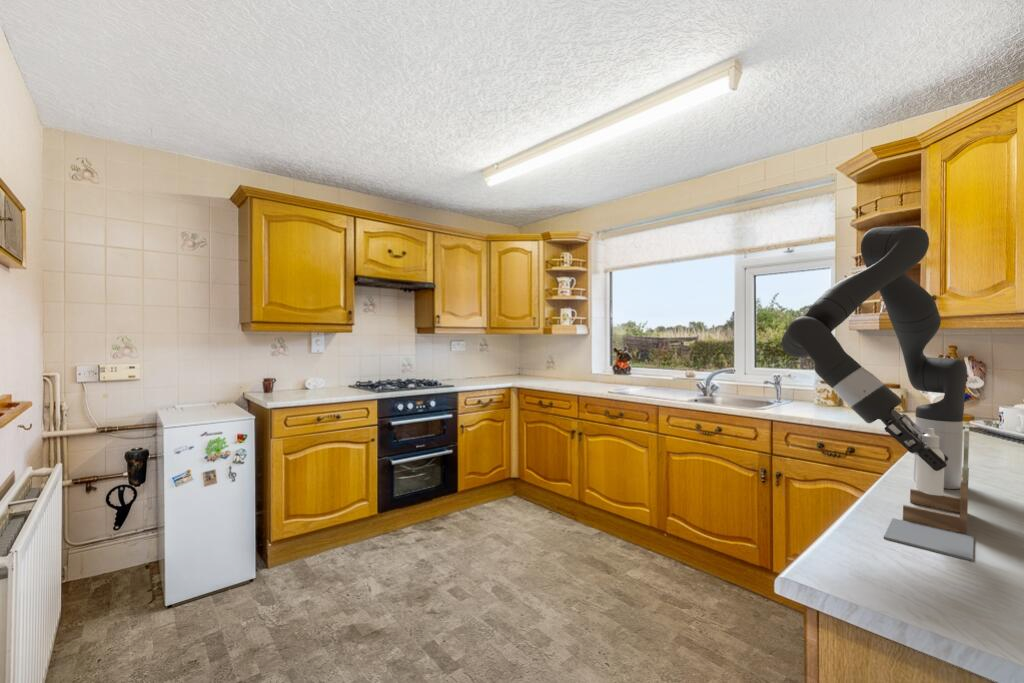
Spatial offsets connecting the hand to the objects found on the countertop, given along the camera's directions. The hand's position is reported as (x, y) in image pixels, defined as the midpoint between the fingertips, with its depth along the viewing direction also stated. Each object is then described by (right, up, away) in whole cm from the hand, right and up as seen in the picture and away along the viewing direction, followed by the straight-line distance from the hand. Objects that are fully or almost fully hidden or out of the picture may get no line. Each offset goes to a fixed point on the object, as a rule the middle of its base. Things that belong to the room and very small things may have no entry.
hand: (942, 464), depth 87 cm
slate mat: (-1, -14, +1) cm, 15 cm away
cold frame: (+10, -14, +13) cm, 22 cm away
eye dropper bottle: (-1, -6, +1) cm, 6 cm away
